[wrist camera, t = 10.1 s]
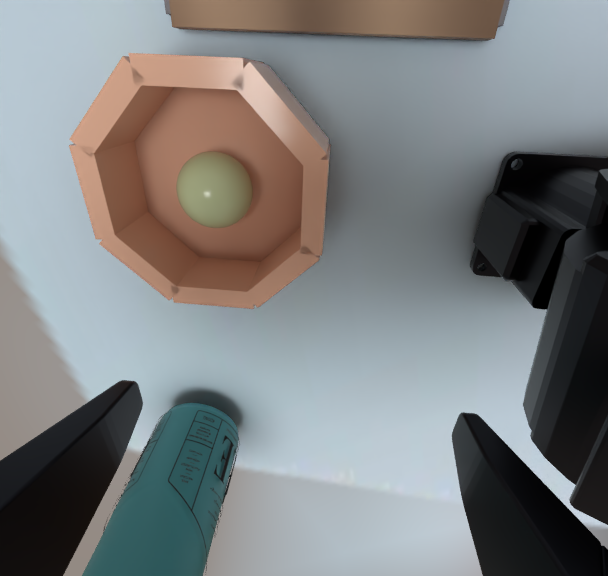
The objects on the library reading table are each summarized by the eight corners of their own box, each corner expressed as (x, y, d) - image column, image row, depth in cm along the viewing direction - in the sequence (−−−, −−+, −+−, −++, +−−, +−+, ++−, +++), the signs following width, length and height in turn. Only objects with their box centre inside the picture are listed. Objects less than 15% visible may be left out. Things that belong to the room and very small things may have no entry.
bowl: (336, 65, 16) (335, 61, 12) (321, 276, 21) (317, 314, 18) (103, 55, 16) (41, 49, 13) (148, 263, 22) (112, 297, 18)
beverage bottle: (152, 396, 28) (-135, 884, 11) (221, 375, 26) (2, 924, 9) (197, 445, 31) (23, 895, 14) (262, 429, 29) (153, 926, 12)
